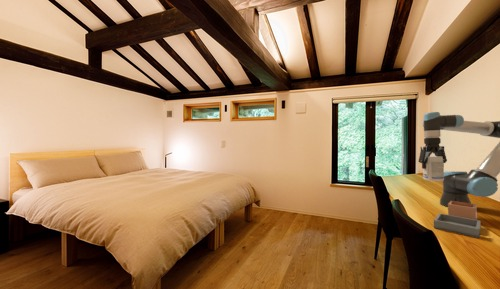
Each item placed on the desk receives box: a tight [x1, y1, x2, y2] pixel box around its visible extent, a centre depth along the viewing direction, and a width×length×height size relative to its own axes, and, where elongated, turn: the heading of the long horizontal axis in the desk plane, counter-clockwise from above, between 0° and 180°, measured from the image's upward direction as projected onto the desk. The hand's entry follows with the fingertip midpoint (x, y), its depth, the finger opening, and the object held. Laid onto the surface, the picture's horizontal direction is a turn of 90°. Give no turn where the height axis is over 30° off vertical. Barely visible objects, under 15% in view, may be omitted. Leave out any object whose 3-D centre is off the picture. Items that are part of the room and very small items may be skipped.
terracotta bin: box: [447, 201, 478, 220], centre depth 109 cm, size 10×10×9 cm
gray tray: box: [433, 212, 482, 239], centre depth 100 cm, size 15×15×4 cm
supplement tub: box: [422, 155, 445, 182], centre depth 124 cm, size 10×10×15 cm
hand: (433, 173), depth 124 cm, fingers closed on supplement tub, 9 cm apart
